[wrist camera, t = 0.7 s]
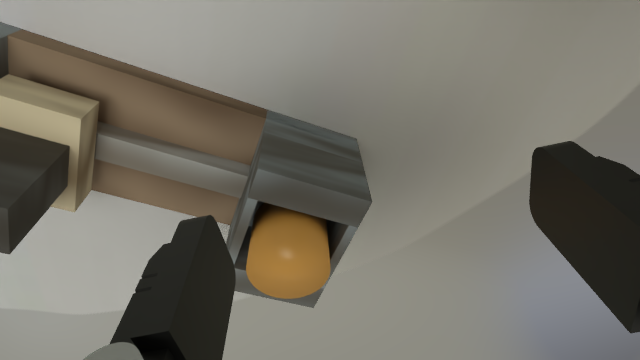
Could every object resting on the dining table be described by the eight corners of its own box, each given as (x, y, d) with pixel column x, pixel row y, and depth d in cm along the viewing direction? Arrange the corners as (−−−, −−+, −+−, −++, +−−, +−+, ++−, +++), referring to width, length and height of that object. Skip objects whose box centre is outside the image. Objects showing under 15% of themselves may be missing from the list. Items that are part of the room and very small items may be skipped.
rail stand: (-71, -1, 24) (-212, 31, 18) (356, 139, 31) (372, 202, 24) (-53, 139, 29) (-157, 205, 23) (310, 234, 36) (313, 307, 29)
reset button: (265, 186, 26) (259, 229, 22) (337, 206, 27) (343, 250, 23) (244, 242, 28) (236, 288, 25) (311, 258, 29) (313, 305, 26)
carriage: (8, 74, 24) (-117, 143, 16) (99, 101, 25) (18, 177, 18) (11, 170, 27) (-91, 261, 20) (91, 190, 28) (21, 283, 21)
